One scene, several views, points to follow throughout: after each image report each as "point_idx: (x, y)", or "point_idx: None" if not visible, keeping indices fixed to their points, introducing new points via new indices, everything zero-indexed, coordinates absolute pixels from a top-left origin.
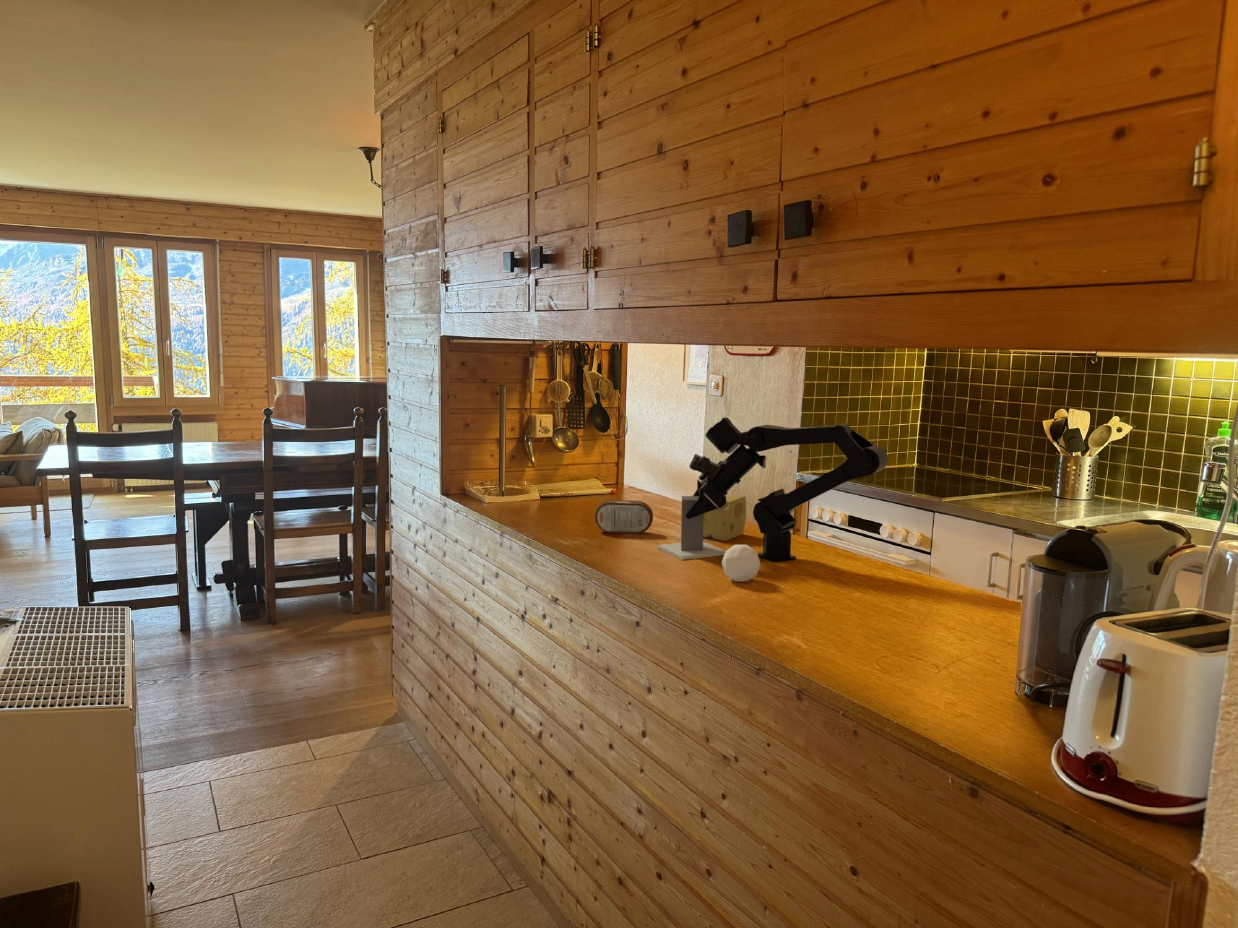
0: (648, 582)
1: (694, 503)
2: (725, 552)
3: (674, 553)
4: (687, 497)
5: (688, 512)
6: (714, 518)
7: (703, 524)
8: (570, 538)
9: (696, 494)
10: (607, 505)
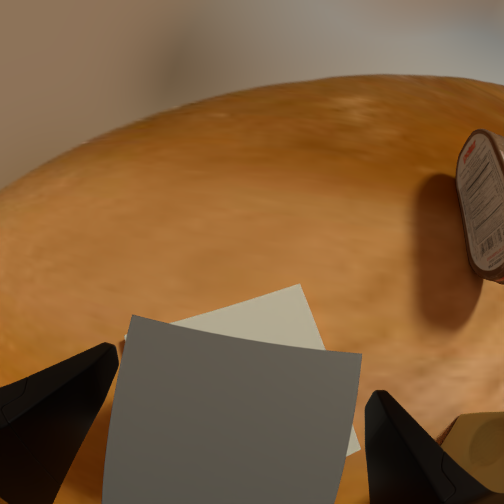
0: (4, 218)
1: (28, 388)
2: None
3: (171, 323)
4: (266, 406)
5: (81, 355)
6: None
7: (464, 454)
8: (388, 114)
9: (421, 492)
10: (488, 140)
